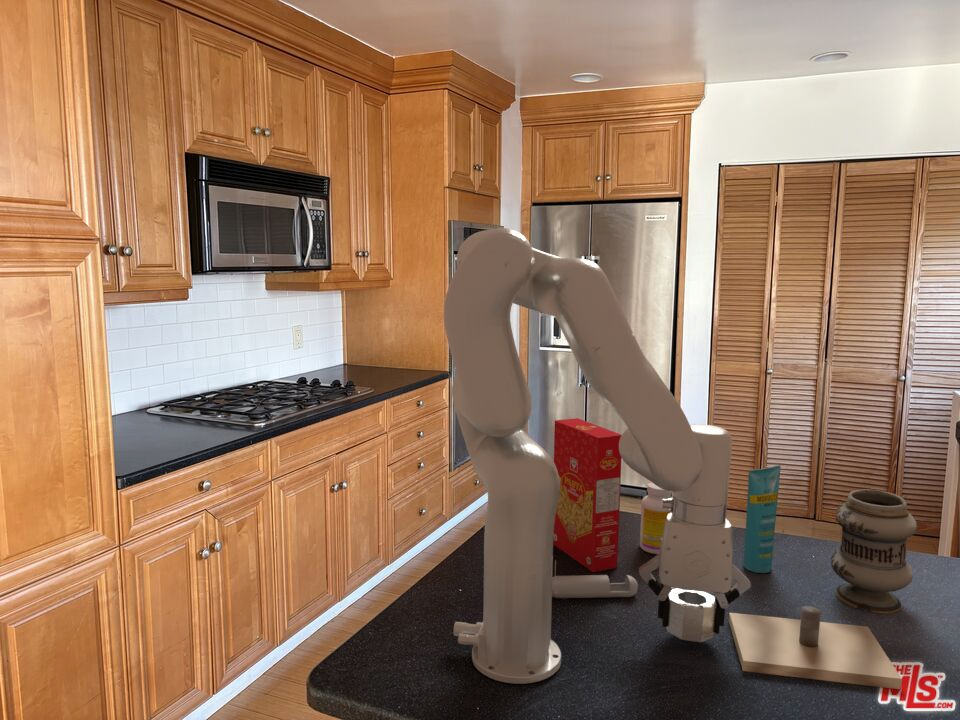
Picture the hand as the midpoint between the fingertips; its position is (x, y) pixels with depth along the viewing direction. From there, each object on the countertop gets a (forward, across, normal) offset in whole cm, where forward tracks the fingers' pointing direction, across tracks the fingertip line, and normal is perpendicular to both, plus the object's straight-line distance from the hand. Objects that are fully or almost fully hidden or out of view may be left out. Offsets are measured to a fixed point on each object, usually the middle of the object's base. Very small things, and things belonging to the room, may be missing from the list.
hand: (689, 625), depth 107 cm
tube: (+2, +15, +29) cm, 33 cm away
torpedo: (+3, -16, +11) cm, 20 cm away
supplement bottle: (+2, -3, +34) cm, 35 cm away
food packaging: (+3, -17, +28) cm, 33 cm away
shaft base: (+2, +17, 0) cm, 17 cm away
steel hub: (+1, 0, 0) cm, 1 cm away
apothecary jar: (+2, +31, +20) cm, 37 cm away
